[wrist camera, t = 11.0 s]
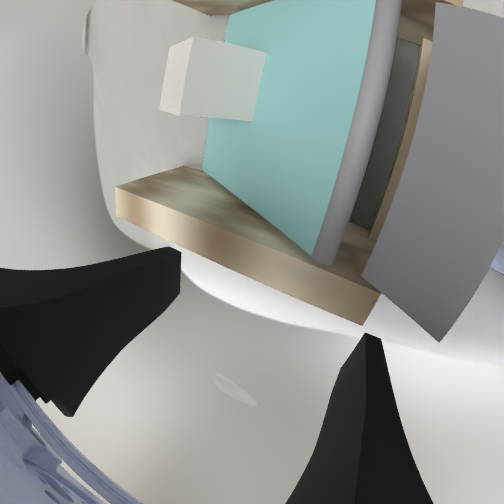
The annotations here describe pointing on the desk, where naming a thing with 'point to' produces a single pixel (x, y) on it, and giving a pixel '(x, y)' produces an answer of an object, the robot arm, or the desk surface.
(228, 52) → the gray cube
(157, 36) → the desk surface
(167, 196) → the rail stand
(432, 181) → the trapdoor
